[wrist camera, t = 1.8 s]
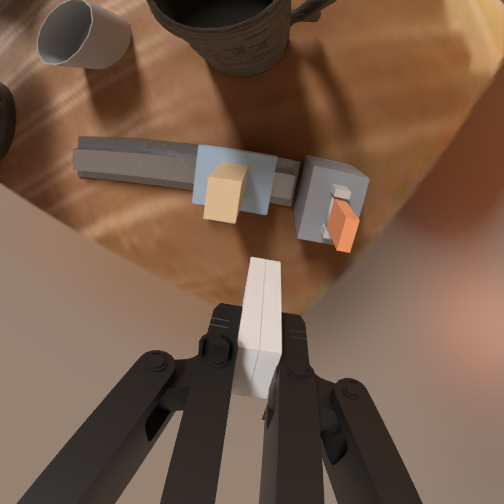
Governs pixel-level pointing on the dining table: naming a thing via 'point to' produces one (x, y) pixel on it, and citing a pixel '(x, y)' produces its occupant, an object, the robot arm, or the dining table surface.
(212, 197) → the carriage
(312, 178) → the grey lever housing
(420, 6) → the dining table surface
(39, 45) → the cup
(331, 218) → the switch lever
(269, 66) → the beer stein
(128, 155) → the rail
